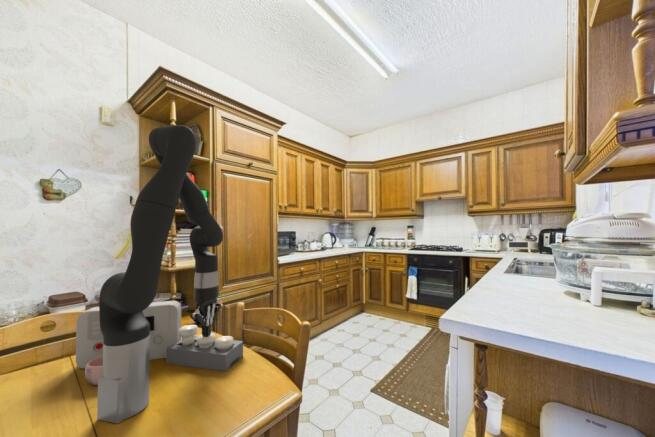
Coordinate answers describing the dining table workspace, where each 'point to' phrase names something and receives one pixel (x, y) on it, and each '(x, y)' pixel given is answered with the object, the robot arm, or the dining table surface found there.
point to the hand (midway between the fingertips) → (206, 335)
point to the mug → (94, 370)
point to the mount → (204, 355)
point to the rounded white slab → (162, 331)
